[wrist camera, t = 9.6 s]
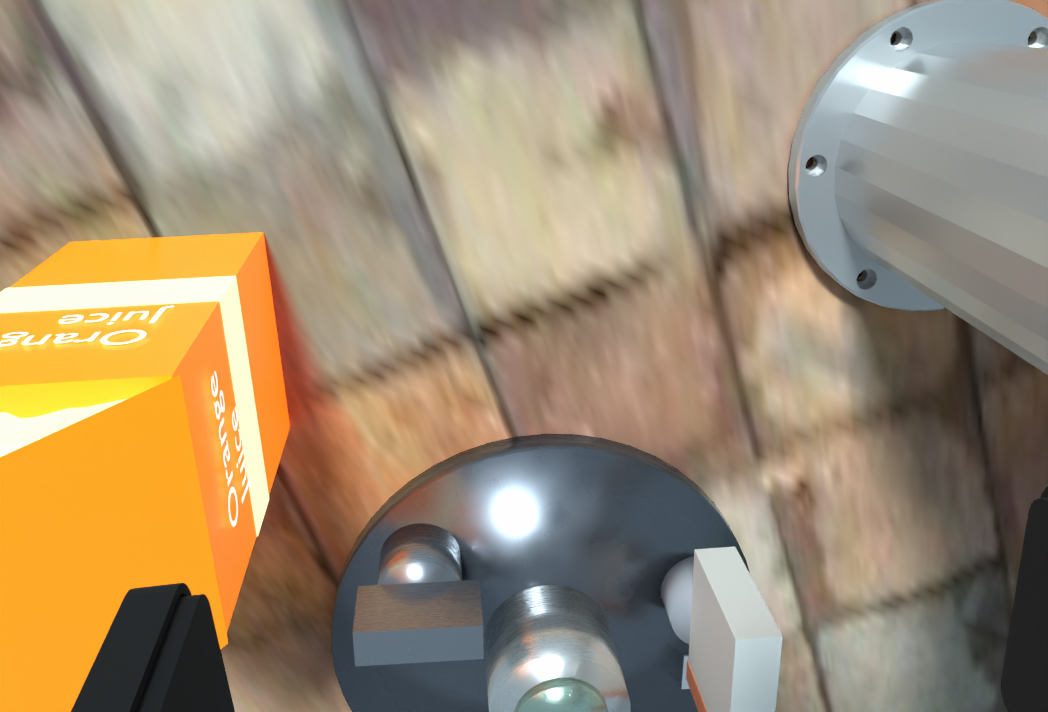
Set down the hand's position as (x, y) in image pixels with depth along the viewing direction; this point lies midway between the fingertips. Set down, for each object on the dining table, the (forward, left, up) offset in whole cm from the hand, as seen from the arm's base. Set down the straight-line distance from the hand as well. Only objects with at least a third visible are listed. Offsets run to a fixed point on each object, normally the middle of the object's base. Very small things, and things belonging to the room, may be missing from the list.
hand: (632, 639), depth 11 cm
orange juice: (+13, +7, -29) cm, 33 cm away
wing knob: (-10, +20, -27) cm, 35 cm away
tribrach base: (-2, +22, -29) cm, 37 cm away
